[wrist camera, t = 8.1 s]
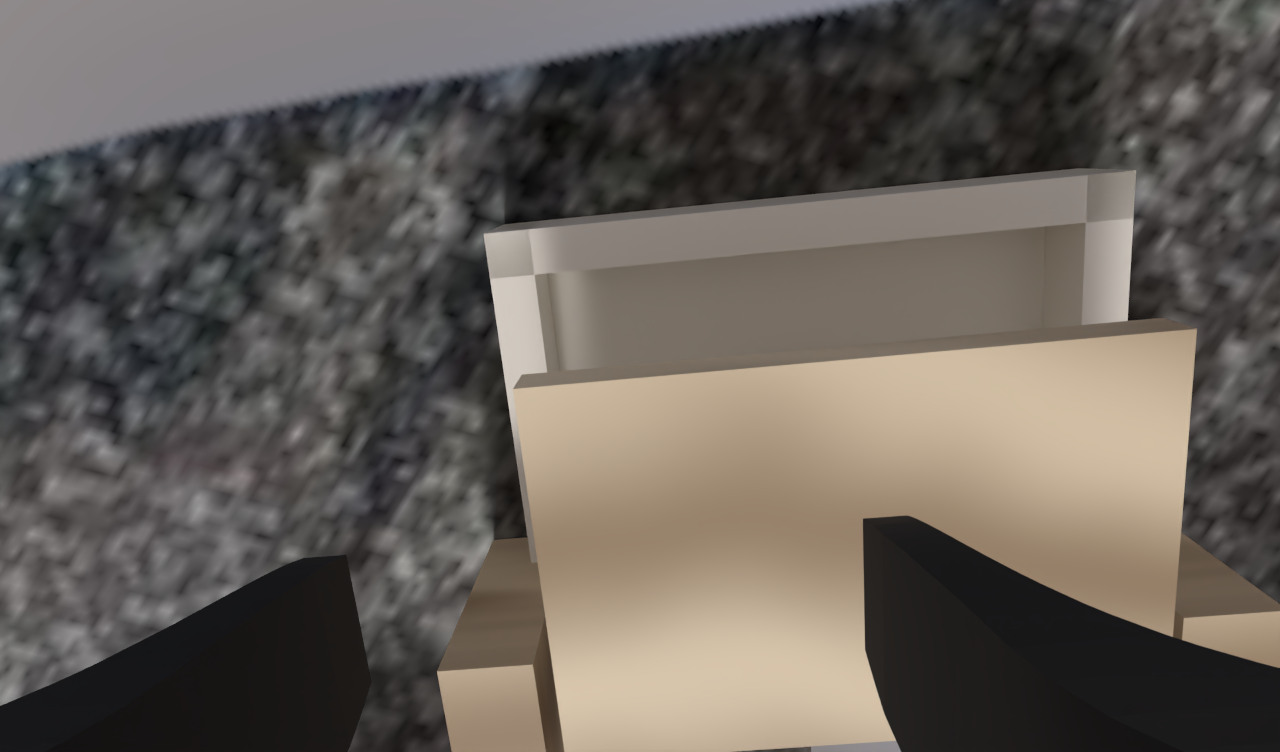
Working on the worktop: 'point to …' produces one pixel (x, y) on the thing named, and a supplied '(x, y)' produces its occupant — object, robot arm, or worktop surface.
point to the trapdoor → (831, 515)
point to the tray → (810, 273)
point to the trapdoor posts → (523, 674)
